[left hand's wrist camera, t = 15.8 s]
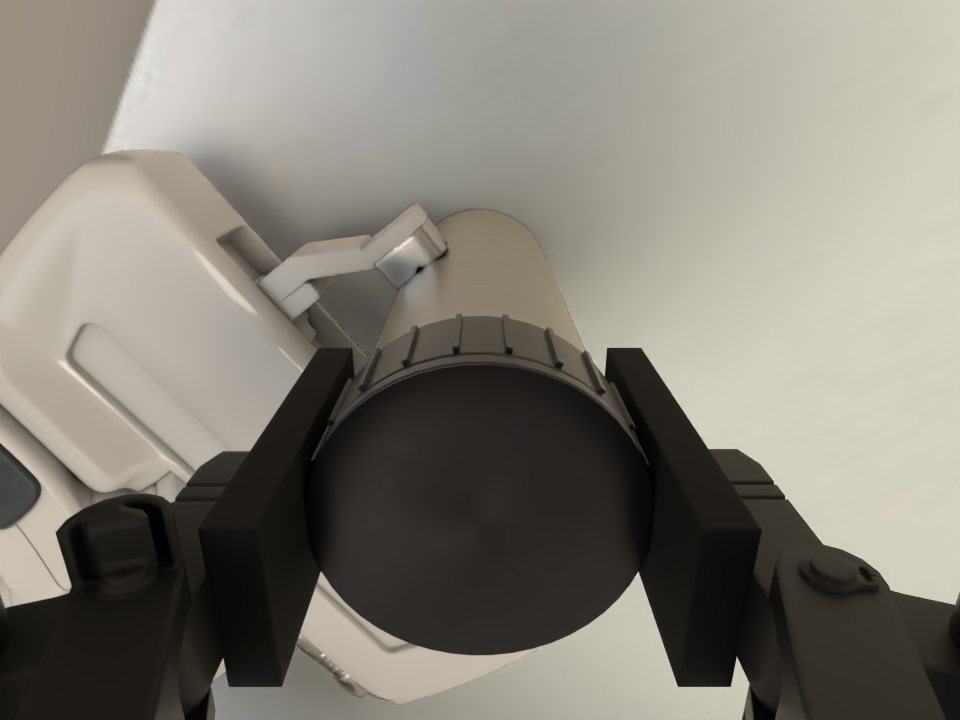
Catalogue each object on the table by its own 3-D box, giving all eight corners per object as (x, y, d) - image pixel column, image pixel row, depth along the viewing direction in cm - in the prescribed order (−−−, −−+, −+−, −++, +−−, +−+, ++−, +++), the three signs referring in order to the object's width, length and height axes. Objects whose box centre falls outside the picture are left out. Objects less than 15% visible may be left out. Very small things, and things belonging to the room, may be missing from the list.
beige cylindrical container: (565, 315, 26) (672, 577, 11) (442, 359, 26) (399, 657, 12) (520, 187, 24) (582, 310, 10) (390, 238, 25) (265, 424, 10)
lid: (686, 388, 12) (731, 449, 10) (541, 607, 14) (553, 699, 12) (401, 256, 11) (382, 292, 9) (289, 512, 13) (252, 592, 11)
